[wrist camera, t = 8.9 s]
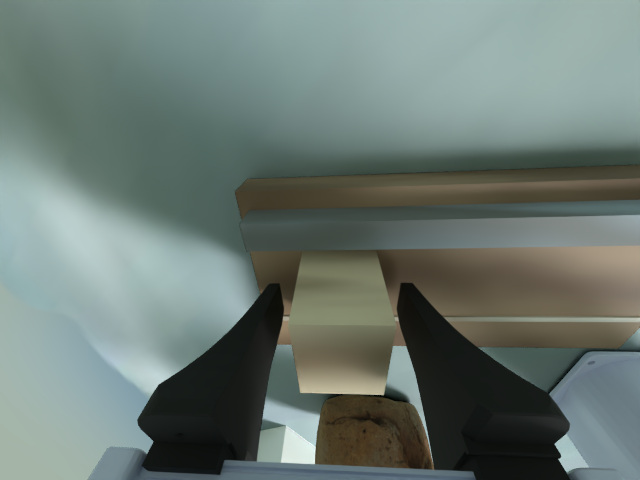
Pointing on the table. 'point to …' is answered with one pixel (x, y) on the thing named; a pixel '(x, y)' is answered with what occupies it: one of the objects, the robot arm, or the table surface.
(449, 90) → the table surface
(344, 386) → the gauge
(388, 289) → the board
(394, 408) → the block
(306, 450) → the corner bracket
